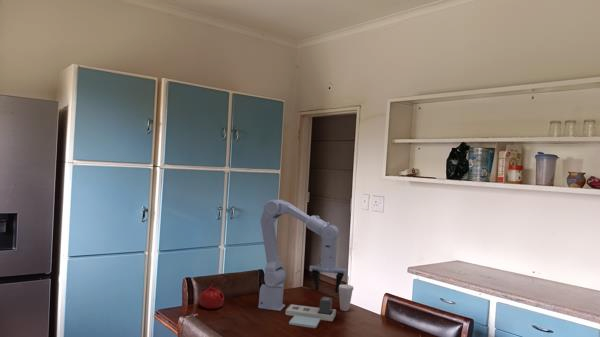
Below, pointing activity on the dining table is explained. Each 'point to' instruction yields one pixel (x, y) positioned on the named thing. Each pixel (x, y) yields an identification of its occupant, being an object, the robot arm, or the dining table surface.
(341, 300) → the smoothie
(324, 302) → the block
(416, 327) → the dining table surface
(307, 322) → the tile
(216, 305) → the pomegranate
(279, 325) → the dining table surface
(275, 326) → the dining table surface
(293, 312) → the power strip
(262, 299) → the robot arm
